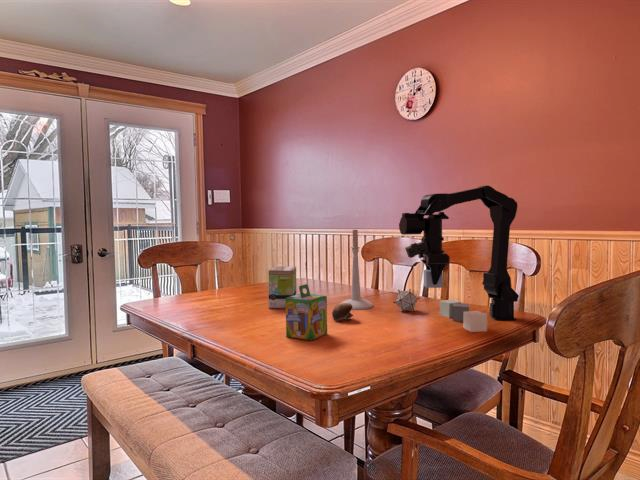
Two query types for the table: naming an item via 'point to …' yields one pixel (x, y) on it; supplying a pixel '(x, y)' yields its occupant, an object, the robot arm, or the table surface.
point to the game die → (406, 300)
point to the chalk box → (306, 315)
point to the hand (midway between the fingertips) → (433, 283)
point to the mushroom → (342, 311)
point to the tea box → (281, 285)
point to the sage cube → (447, 308)
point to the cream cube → (475, 321)
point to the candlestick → (356, 280)
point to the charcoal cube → (459, 311)
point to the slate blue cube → (428, 280)
